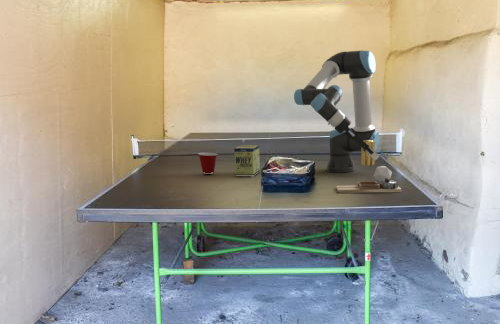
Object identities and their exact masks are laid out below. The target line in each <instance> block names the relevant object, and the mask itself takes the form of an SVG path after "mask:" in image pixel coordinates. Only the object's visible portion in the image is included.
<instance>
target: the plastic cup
mask: <svg viewBox="0 0 500 324" xmlns="http://www.w3.org/2000/svg"><path fill="white" fill-rule="evenodd" d="M197 155H198V156H199V160H200V161H199V162H200V167H201V172H202V173H203V172H205V173H211V172H214V173H215V167H216V160H217V156H218V155H219V154H218V153H216V152H198V153H197Z"/></svg>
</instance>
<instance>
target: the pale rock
mask: <svg viewBox="0 0 500 324" xmlns="http://www.w3.org/2000/svg"><path fill="white" fill-rule="evenodd" d="M392 175H393V172H392V170H391V169H389V168H388V167H387V166H385V165H380V166H376V168H375V171H374V174H373V176H372V177H373V178H374V179H375V181H377V182H378V181H379V180H380V181H381V180H385V178H390V179H391V177H392Z"/></svg>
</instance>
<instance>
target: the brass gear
mask: <svg viewBox="0 0 500 324" xmlns="http://www.w3.org/2000/svg"><path fill="white" fill-rule="evenodd" d="M363 141H364V142H365V143H366V144H367V145H369V146H370V147H371V148H372V149H373V150H374V151H375V141H373V140H363ZM365 146H366V145H365ZM365 146H364V147H365ZM363 150H364V149H363V148H362V147H361V152H360V153H361V157H360V158H361V161H360V162H361V163H360V165H361V166H369V167H370V166H375V162H376V161H375V160H374V159H373V158H372V157H371V156H370V155H369V154H368V153H367V152H366V151H363ZM375 152H376V151H375Z"/></svg>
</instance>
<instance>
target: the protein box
mask: <svg viewBox="0 0 500 324" xmlns="http://www.w3.org/2000/svg"><path fill="white" fill-rule="evenodd" d="M233 150H234V152H233V153H234V155H233V156H234V176H235V175H255V174H256V173H257V172H259V171H260V172H261V169H260V168H261V166H260V162H261V161H260V145H259V144H240V145H239V146H236V147H235V148H234V149H233ZM260 172H259V173H260Z"/></svg>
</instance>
